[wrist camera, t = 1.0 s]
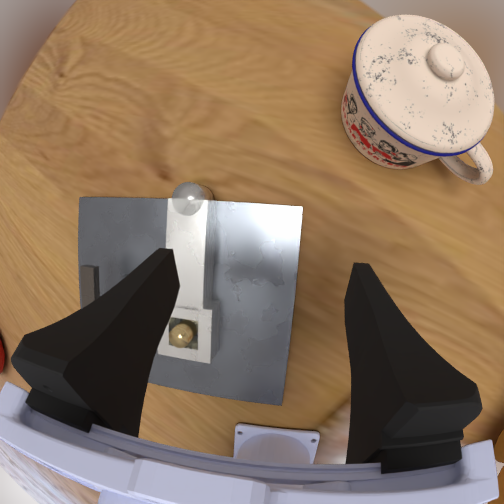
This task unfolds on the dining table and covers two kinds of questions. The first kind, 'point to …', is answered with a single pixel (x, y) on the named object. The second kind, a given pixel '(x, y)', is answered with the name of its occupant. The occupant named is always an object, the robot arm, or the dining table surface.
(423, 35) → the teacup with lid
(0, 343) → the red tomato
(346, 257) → the dining table surface
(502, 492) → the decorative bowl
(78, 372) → the robot arm
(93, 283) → the bracket
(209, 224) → the link
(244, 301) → the base plate
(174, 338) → the peg
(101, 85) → the dining table surface
